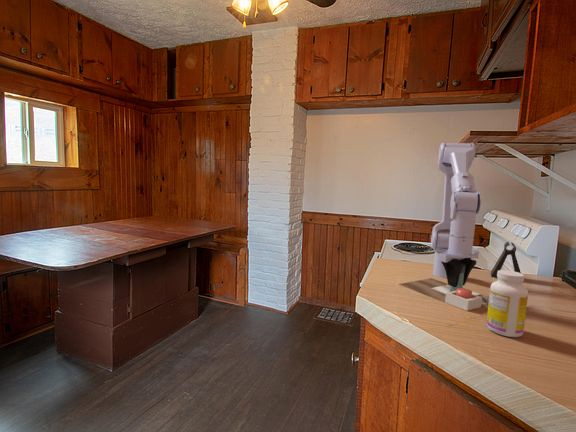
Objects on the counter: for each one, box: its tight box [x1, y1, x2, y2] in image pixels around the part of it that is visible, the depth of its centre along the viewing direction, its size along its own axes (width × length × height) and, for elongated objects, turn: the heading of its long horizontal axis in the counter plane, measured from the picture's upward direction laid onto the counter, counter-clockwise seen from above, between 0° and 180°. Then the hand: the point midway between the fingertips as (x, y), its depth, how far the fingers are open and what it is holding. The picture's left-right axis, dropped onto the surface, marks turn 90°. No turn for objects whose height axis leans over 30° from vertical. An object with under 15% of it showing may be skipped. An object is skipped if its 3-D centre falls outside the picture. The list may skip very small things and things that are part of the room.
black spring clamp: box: [490, 241, 522, 279], centre depth 110 cm, size 9×6×12 cm, turn 59°
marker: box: [450, 265, 465, 292], centre depth 88 cm, size 3×3×8 cm
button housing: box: [444, 290, 482, 312], centre depth 81 cm, size 6×6×2 cm
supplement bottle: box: [486, 269, 529, 338], centre depth 68 cm, size 7×7×13 cm
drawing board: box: [397, 277, 489, 312], centre depth 89 cm, size 15×21×1 cm
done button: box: [456, 288, 473, 299], centre depth 80 cm, size 3×3×2 cm
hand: (456, 285), depth 88 cm, fingers closed on marker, 3 cm apart
